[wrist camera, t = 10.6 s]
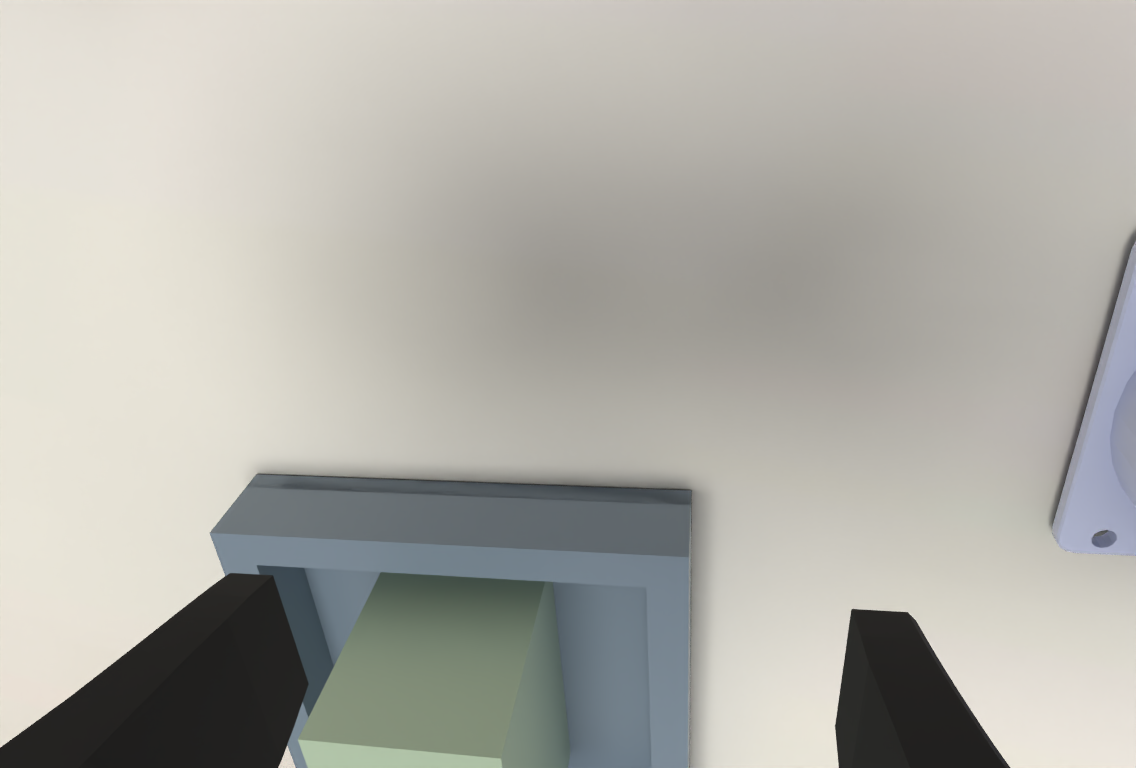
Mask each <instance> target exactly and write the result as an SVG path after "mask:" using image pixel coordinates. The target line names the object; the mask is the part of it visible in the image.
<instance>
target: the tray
mask: <svg viewBox="0 0 1136 768" xmlns="http://www.w3.org/2000/svg"><path fill="white" fill-rule="evenodd" d="M691 506H692V491H690V490H663V489H636V488H610V487H583V486H556V485H529V484H503V483H476V482H449V481H422V480H395V479H369V478H342V477H315V476H288V475H261V474H256V476H255V477H254V478H253V479H252V481H251V482H250V483H249V484H248V486H247V487H246V488H245V489H244V491H243V492H242V493H241V494H240V496H239V497H238V498H237V499H236V501H235V502H234V503H233V504H232V506H231V507H230V508H229V509H228V511H227V512H226V513H225V515H224V516H223V517H222V518H221V520H220V521H219V522H218V523H217V525H216V526H215V527H214V528H213V530H212V531H211V532H210V535H211V538H212V541H213V543H214V546H215V549H216V551H217V554H218V557H219V560H220V562H221V565H222V568H223V571H224V573H225V576H227V575H228V574H229V573H242V574H259V575H273V577H274V580H275V583H276V586H277V589H278V592H279V595H280V598H281V601H282V604H283V607H284V610H285V613H286V616H287V619H288V622H289V625H290V628H291V631H292V634H293V637H294V640H295V643H296V646H297V650H298V653H299V656H300V659H301V662H302V665H303V668H304V671H305V674H306V677H307V680H308V683H309V685H308V688H307V691H306V693H305V696H304V699H303V702H302V705H301V708H300V711H299V714H298V717H297V720H296V723H295V726H294V728H293V731H292V734H291V736H290V739H289V741H288V744H287V745H288V748H289V750H290V753H291V756H292V758H293V761H294V764H295V767H296V768H308V767H307V764H306V761H305V758H304V756H303V753H302V750H301V747H300V744H299V742H298V738H299V736H300V734H301V732H302V730H303V728H304V726H305V724H306V722H307V720H308V718H309V716H310V714H311V712H312V710H313V708H314V706H315V704H316V702H317V700H318V698H319V696H320V694H321V692H322V690H323V688H324V686H325V684H326V682H327V680H328V678H329V676H330V674H331V672H332V670H333V668H334V666H335V663H336V661H337V659H338V657H339V655H340V653H341V651H342V649H343V647H344V645H345V643H346V641H347V639H348V637H349V635H350V633H351V631H352V629H353V627H354V625H355V623H356V621H357V619H358V617H359V615H360V613H361V611H362V609H363V607H364V605H365V603H366V601H367V599H368V597H369V595H370V593H371V591H372V589H373V587H374V585H375V583H376V581H377V579H378V577H379V575H380V573H381V572H387V573H405V574H422V575H440V576H457V577H475V578H493V579H510V580H528V581H545V582H553V590H554V599H555V609H556V618H557V628H558V637H559V647H560V657H561V666H562V676H563V685H564V695H565V704H566V714H567V723H568V733H569V742H570V758H569V764H568V768H690V659H691Z"/></svg>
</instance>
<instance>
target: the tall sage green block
mask: <svg viewBox="0 0 1136 768" xmlns="http://www.w3.org/2000/svg"><path fill="white" fill-rule="evenodd" d="M298 742H299V744H300V747H301V750H302V753H303V756H304V758H305V761H306V764H307V767H308V768H568V764H569V758H570V742H569V733H568V723H567V714H566V704H565V695H564V685H563V676H562V666H561V657H560V647H559V637H558V628H557V618H556V609H555V599H554V590H553V582H545V581H528V580H510V579H493V578H475V577H457V576H440V575H422V574H405V573H387V572H381V573H380V575H379V577H378V579H377V581H376V583H375V585H374V587H373V589H372V591H371V593H370V595H369V597H368V599H367V601H366V603H365V605H364V607H363V609H362V611H361V613H360V615H359V617H358V619H357V621H356V623H355V625H354V627H353V629H352V631H351V633H350V635H349V637H348V639H347V641H346V643H345V645H344V647H343V649H342V651H341V653H340V655H339V657H338V659H337V661H336V663H335V666H334V668H333V670H332V672H331V674H330V676H329V678H328V680H327V682H326V684H325V686H324V688H323V690H322V692H321V694H320V696H319V698H318V700H317V702H316V704H315V706H314V708H313V710H312V712H311V714H310V716H309V718H308V720H307V722H306V724H305V726H304V728H303V730H302V732H301V734H300V736H299V738H298Z"/></svg>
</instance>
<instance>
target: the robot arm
mask: <svg viewBox="0 0 1136 768" xmlns="http://www.w3.org/2000/svg"><path fill="white" fill-rule="evenodd" d="M1103 530H1108V532H1107V533H1105V534H1103V535H1101V536H1096V537H1094V534H1096V533H1097V532H1099V531H1103ZM1052 534H1053V536H1054V538H1055V540H1056V542H1057V543H1058V545H1059V547H1060V548H1062V549H1063V550H1065V551H1068V552H1073V553H1088V554H1110V555H1131V556H1136V241H1135V243H1134V245H1133V247H1132V249H1131V253H1130V256H1129V260H1128V263H1127V267H1126V270H1125V274H1124V277H1123V281H1122V284H1121V288H1120V291H1119V295H1118V298H1117V302H1116V305H1115V309H1114V312H1113V316H1112V319H1111V323H1110V326H1109V330H1108V334H1107V337H1106V341H1105V344H1104V348H1103V351H1102V355H1101V358H1100V362H1099V365H1098V369H1097V372H1096V376H1095V379H1094V383H1093V386H1092V390H1091V393H1090V397H1089V400H1088V404H1087V407H1086V411H1085V414H1084V418H1083V421H1082V425H1081V428H1080V432H1079V435H1078V439H1077V442H1076V446H1075V449H1074V453H1073V456H1072V460H1071V463H1070V467H1069V470H1068V474H1067V477H1066V481H1065V484H1064V488H1063V491H1062V495H1061V498H1060V502H1059V505H1058V509H1057V512H1056V516H1055V519H1054V523H1053V526H1052ZM308 685H309V683H308V680H307V677H306V674H305V671H304V668H303V665H302V662H301V659H300V656H299V653H298V650H297V646H296V643H295V640H294V637H293V634H292V631H291V628H290V625H289V622H288V619H287V616H286V613H285V610H284V607H283V604H282V601H281V598H280V595H279V592H278V589H277V586H276V583H275V580H274V577H273V575H259V574H242V573H229V574H228V575H227V576H225V577H224V578H222V579H221V580H220V581H218V582H217V583H216V584H214V585H213V586H211V587H210V588H209V589H208V590H206V591H205V592H204V593H202V594H201V595H200V596H198V597H197V598H196V599H195V600H193V601H192V602H191V603H189V604H188V605H187V606H186V607H184V608H183V609H182V610H180V611H179V612H178V613H177V614H175V615H174V616H173V617H172V618H170V619H169V620H168V621H167V622H165V623H164V624H163V625H161V626H160V627H159V628H158V629H156V630H155V631H154V632H153V633H151V634H150V635H149V636H148V637H146V638H145V639H144V640H143V641H141V642H140V643H139V644H137V645H136V646H135V647H134V648H132V649H131V650H130V651H129V652H127V653H126V654H125V655H123V656H122V657H121V658H120V659H118V660H117V661H116V662H114V663H113V664H112V665H111V666H109V667H108V668H107V669H105V670H104V671H103V672H102V673H100V674H99V675H98V676H96V677H95V678H94V679H93V680H91V681H90V682H89V683H87V684H86V685H85V686H84V687H82V688H81V689H80V690H78V691H77V692H76V693H75V694H73V695H72V696H71V697H69V698H68V699H67V700H65V701H64V702H62V703H61V704H60V705H58V706H57V707H56V708H54V709H53V710H51V711H50V712H49V713H47V714H46V715H45V716H43V717H42V718H41V719H39V720H38V721H36V722H35V723H34V724H32V725H31V726H30V727H28V728H27V729H25V730H24V731H23V732H21V733H20V734H19V735H17V736H16V737H14V738H13V739H12V740H10V741H9V742H8V743H6V744H5V745H3V746H2V747H1V748H0V768H278V766H279V764H280V762H281V760H282V757H283V755H284V752H285V749H286V747H287V744H288V741H289V739H290V736H291V734H292V731H293V728H294V726H295V723H296V720H297V717H298V714H299V711H300V708H301V705H302V702H303V699H304V696H305V693H306V691H307V688H308ZM835 729H836V740H837V751H838V762H839V768H1010V767H1009V765H1008V764H1007V763H1006V761H1005V760H1004V758H1003V757H1002V756H1001V754H1000V753H999V751H998V750H997V748H996V747H995V746H994V744H993V743H992V741H991V740H990V738H989V737H988V735H987V734H986V732H985V731H984V729H983V728H982V726H981V725H980V723H979V722H978V720H977V719H976V717H975V716H974V714H973V713H972V711H971V710H970V708H969V707H968V705H967V704H966V702H965V701H964V699H963V697H962V696H961V694H960V693H959V691H958V690H957V688H956V687H955V685H954V683H953V682H952V680H951V679H950V677H949V675H948V674H947V672H946V671H945V669H944V667H943V666H942V664H941V663H940V661H939V659H938V658H937V656H936V654H935V653H934V651H933V649H932V648H931V646H930V644H929V642H928V641H927V639H926V637H925V636H924V634H923V632H922V630H921V629H920V627H919V625H918V623H917V622H916V620H915V619H914V618H913V617H912V616H911V615H910V614H909V613H908V612H892V611H875V610H858V609H852V610H851V617H850V624H849V632H848V639H847V646H846V653H845V660H844V667H843V675H842V682H841V689H840V696H839V703H838V711H837V718H836V725H835Z"/></svg>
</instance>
